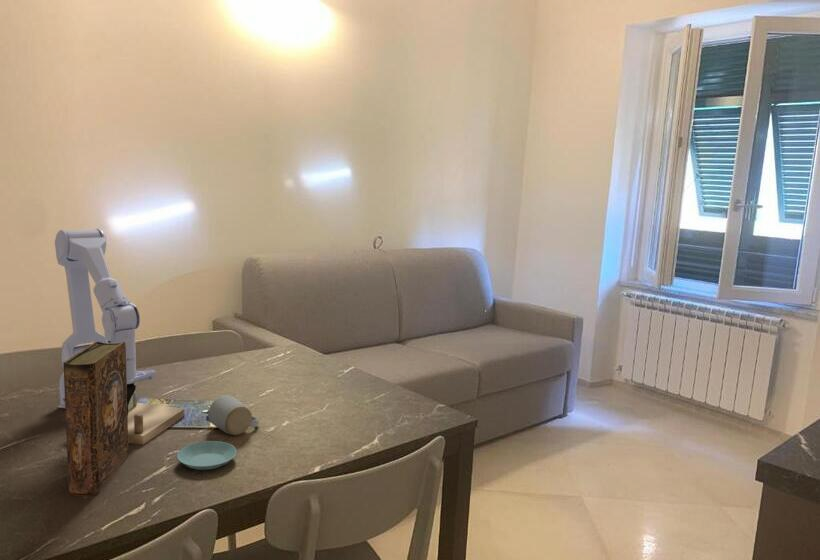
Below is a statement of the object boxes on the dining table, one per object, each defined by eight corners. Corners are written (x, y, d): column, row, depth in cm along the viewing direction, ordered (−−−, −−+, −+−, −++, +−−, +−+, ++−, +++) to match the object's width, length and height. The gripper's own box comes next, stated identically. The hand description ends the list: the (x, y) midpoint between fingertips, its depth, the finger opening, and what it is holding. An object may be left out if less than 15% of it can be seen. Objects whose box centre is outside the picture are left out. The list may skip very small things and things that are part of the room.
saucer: (246, 455, 136) (246, 445, 135) (218, 480, 124) (218, 469, 124) (197, 447, 138) (197, 437, 138) (165, 471, 127) (165, 460, 126)
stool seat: (74, 435, 140) (73, 409, 139) (121, 408, 157) (121, 385, 156) (143, 444, 137) (142, 418, 136) (184, 416, 154) (184, 393, 153)
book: (96, 496, 116) (92, 365, 111) (65, 496, 115) (60, 364, 111) (128, 456, 132) (125, 340, 128) (101, 456, 131) (97, 340, 127)
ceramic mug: (225, 440, 142) (226, 408, 140) (207, 429, 147) (207, 398, 146) (266, 429, 149) (267, 398, 148) (247, 419, 155) (247, 389, 154)
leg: (126, 402, 155) (126, 389, 154) (138, 403, 155) (138, 390, 154) (95, 425, 141) (95, 411, 140) (108, 426, 141) (108, 411, 140)
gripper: (94, 367, 135) (96, 427, 137) (161, 356, 145) (162, 412, 147) (83, 360, 140) (85, 418, 142) (148, 349, 150) (149, 403, 152)
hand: (123, 414), depth 145 cm, fingers closed, pressing on leg
